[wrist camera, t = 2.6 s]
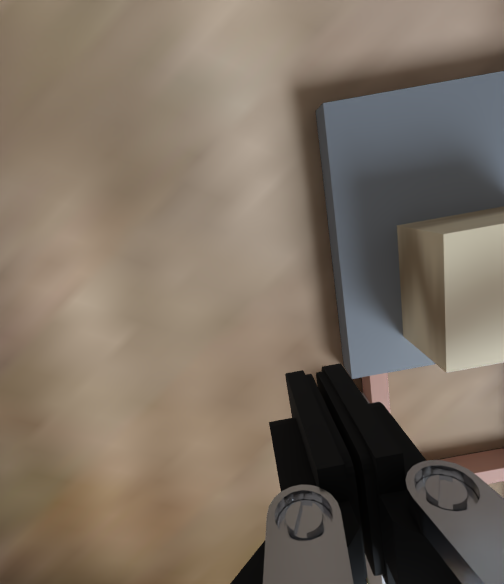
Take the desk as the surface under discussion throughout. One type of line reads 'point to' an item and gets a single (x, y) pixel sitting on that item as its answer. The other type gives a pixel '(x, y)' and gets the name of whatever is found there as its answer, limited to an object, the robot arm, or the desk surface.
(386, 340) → the box
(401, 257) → the wooden block
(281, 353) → the desk surface
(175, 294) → the desk surface
